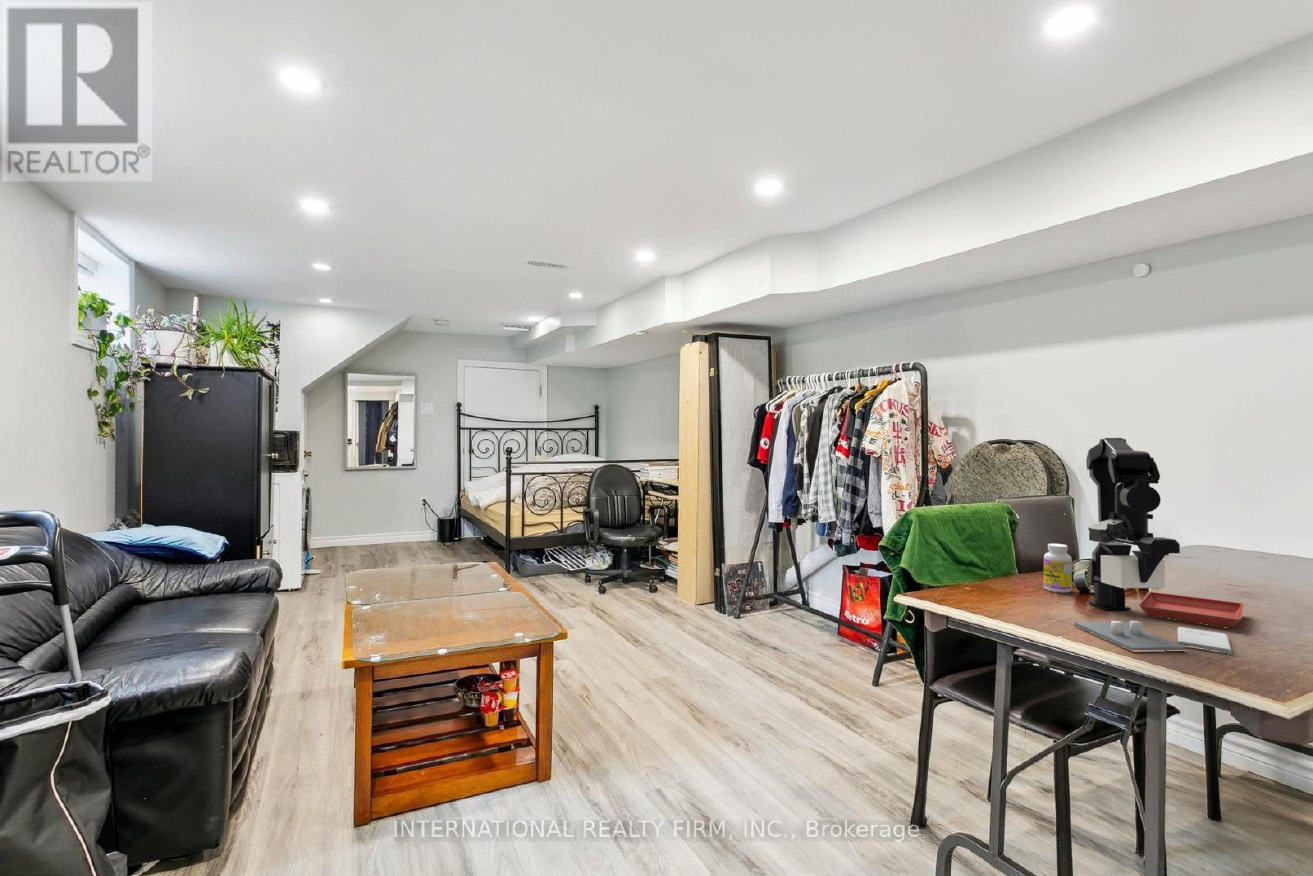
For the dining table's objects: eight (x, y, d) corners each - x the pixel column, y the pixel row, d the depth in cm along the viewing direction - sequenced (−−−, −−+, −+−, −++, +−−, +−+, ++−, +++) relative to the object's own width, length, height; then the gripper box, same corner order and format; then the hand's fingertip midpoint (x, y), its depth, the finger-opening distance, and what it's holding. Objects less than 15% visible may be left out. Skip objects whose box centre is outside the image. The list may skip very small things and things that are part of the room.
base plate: (1074, 626, 141) (1074, 611, 141) (1122, 626, 141) (1122, 610, 141) (1132, 652, 124) (1132, 635, 124) (1186, 652, 124) (1186, 634, 124)
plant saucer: (1138, 617, 149) (1138, 604, 149) (1148, 603, 162) (1148, 590, 162) (1241, 634, 136) (1241, 619, 136) (1243, 617, 149) (1243, 603, 149)
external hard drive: (1177, 648, 128) (1177, 633, 138) (1231, 657, 123) (1227, 640, 132) (1177, 640, 128) (1177, 626, 138) (1231, 649, 123) (1227, 633, 132)
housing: (1121, 588, 133) (1121, 560, 133) (1100, 582, 139) (1100, 555, 139) (1164, 588, 133) (1164, 560, 133) (1142, 581, 139) (1142, 555, 139)
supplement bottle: (1038, 588, 176) (1037, 543, 176) (1055, 586, 178) (1055, 542, 178) (1059, 594, 170) (1059, 547, 170) (1077, 592, 172) (1077, 546, 172)
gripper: (1066, 504, 145) (1067, 571, 145) (1128, 513, 127) (1129, 589, 126) (1113, 504, 145) (1113, 571, 145) (1181, 513, 127) (1182, 589, 126)
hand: (1132, 579), depth 136 cm, fingers closed on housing, 6 cm apart
